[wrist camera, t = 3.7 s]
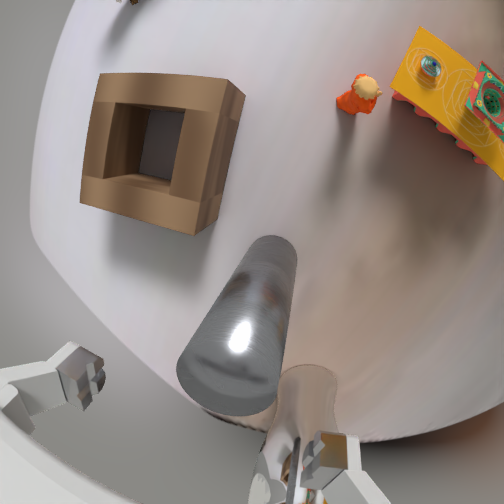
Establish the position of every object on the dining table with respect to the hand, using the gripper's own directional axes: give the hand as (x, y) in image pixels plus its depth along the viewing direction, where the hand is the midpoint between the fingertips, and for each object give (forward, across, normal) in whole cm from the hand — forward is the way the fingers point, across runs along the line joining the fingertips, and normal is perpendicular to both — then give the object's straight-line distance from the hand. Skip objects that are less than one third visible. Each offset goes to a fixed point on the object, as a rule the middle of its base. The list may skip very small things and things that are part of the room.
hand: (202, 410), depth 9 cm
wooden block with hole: (+15, +9, -7) cm, 20 cm away
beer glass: (+16, -8, +12) cm, 21 cm away
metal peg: (+15, -1, 0) cm, 16 cm away
